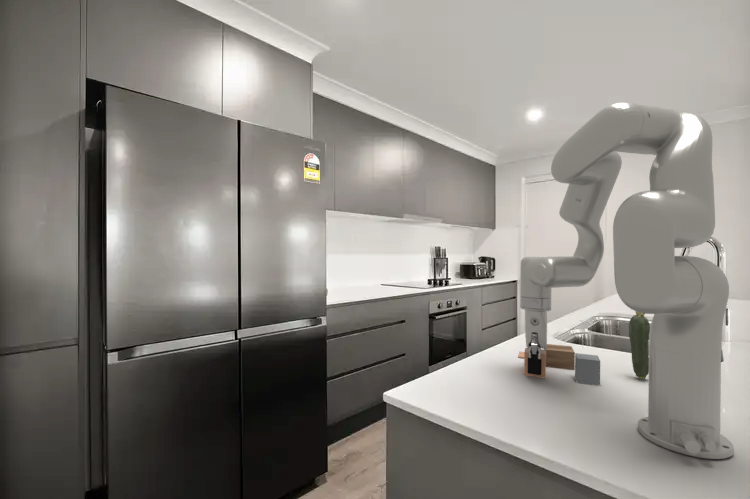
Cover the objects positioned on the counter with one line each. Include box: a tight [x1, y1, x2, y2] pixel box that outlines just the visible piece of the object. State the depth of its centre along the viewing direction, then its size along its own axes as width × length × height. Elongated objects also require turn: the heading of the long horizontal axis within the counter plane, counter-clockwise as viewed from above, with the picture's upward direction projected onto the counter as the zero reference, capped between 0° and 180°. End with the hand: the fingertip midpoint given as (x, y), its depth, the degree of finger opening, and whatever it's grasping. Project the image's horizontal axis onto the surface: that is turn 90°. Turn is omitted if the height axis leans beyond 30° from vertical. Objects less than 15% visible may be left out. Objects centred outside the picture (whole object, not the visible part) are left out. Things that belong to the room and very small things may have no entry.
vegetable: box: [628, 311, 651, 379], centre depth 93 cm, size 4×4×20 cm
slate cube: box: [574, 352, 601, 386], centre depth 92 cm, size 5×5×6 cm
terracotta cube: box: [523, 347, 546, 379], centre depth 97 cm, size 5×5×6 cm
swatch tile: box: [517, 351, 525, 359], centre depth 112 cm, size 6×6×1 cm
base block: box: [545, 343, 575, 371], centre depth 105 cm, size 7×7×5 cm
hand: (534, 368), depth 97 cm, fingers open, 9 cm apart
